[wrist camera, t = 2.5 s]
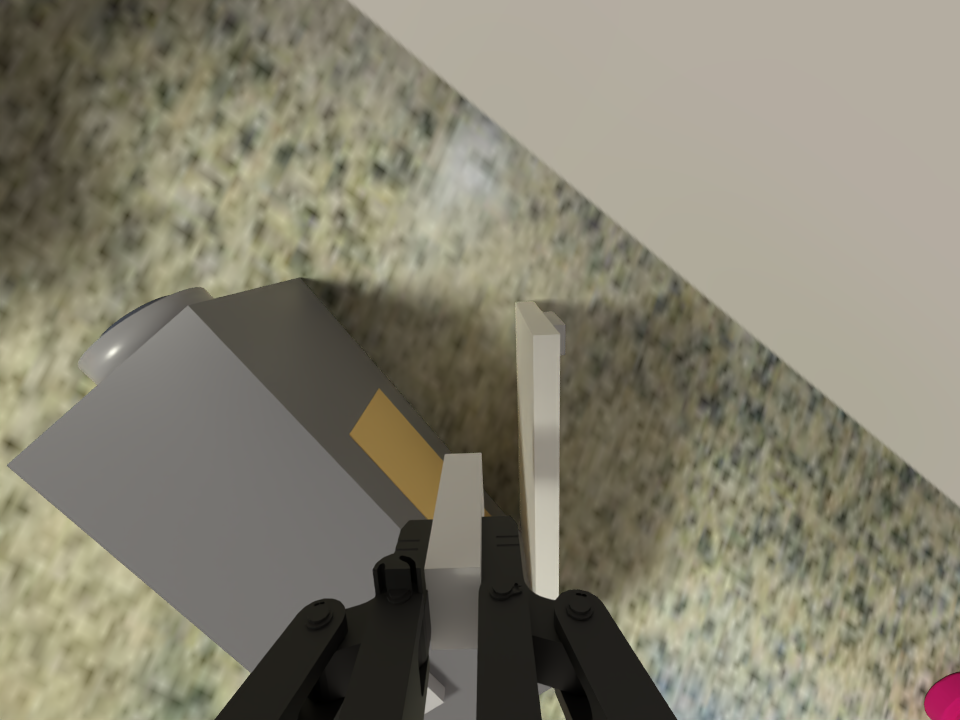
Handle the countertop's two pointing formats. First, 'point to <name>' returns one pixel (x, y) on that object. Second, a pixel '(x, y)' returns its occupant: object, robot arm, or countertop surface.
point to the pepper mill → (944, 699)
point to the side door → (539, 442)
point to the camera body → (248, 467)
